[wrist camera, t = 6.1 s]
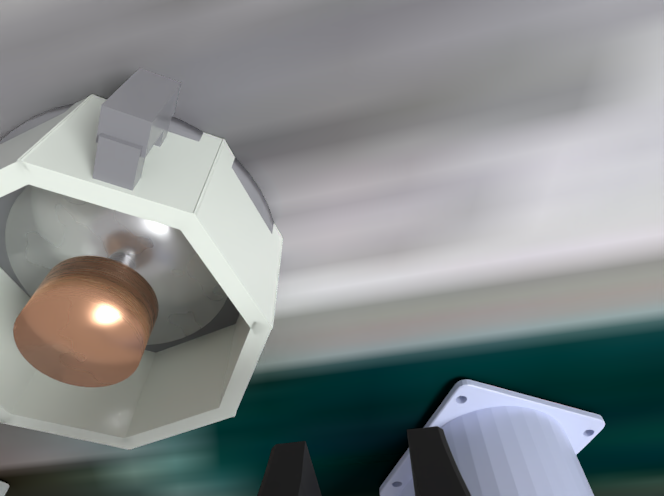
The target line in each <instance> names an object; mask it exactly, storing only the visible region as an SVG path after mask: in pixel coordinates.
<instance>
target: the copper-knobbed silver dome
mask: <svg viewBox="0 0 664 496" xmlns="http://www.w3.org/2000/svg"><path fill="white" fill-rule="evenodd" d="M5 244H6V250H7V255H8V258H9V261H10V264H11V266H12V269H13V271H14V273H15V275H16V276H17V278H18V280H19V281H20V283H21V284H22V286H23V287H24V289H25V290H26V291H27V292H28V294H29V295H30V296H31V298H30V300H29V301H28V302H27V304H26V305H25V307H24V308H23V309H22V311H21V312H20V314H19V315H18V317H17V318H16V321H15V323H14V328H13V335H14V340H15V343H16V346H17V348H18V350H19V351H20V353H21V354H22V356H23V357H24V358H25V359H26V360H27V361H28V362H29V363H30V364H31V365H32V366H33V367H34V368H36V369H37V370H38V371H40V372H41V373H43V374H45V375H47V376H48V377H50V378H53V379H55V380H57V381H60V382H63V383H66V384H70V385H74V386H80V387H105V386H110V385H113V384H117V383H119V382H121V381H123V380H125V379H127V378H128V377H129V376H131V375H132V374H133V373H134V372H135V370H136V369H137V367H138V366H139V363H140V361H141V358H142V355H143V353H144V350H145V348H146V345H151V344H161V343H166V342H171V341H175V340H178V339H181V338H184V337H186V336H188V335H191V334H193V333H195V332H196V331H198V330H200V329H201V328H203V327H204V326H205V325H207V324H208V323H209V322H210V321H211V320H212V319H213V318H214V317H215V316H216V315H217V314H218V313H219V311H220V310H221V308H222V307H223V305H224V304H225V301H226V299H227V297H228V296H227V294H226V293H225V292H224V290H223V289H222V287H221V286H220V285H219V283H218V282H217V280H216V279H215V278H214V276H213V275H212V273H211V272H210V271H209V269H208V268H207V266H206V265H205V264H204V262H203V261H202V259H201V258H200V257H199V255H198V254H197V252H196V251H195V250H194V248H193V247H192V245H191V244H190V243H189V241H188V240H187V238H186V237H185V236H184V234H183V233H182V231H181V230H179V229H176V228H173V227H169V226H166V225H162V224H159V223H156V222H152V221H149V220H146V219H142V218H139V217H136V216H132V215H129V214H126V213H122V212H119V211H116V210H112V209H109V208H106V207H102V206H99V205H96V204H92V203H89V202H86V201H82V200H79V199H76V198H72V197H69V196H66V195H62V194H59V193H56V192H52V191H49V190H46V189H42V188H39V187H36V186H32V185H28V186H27V187H26V188H25V189H24V191H23V192H22V193H21V194H20V195H19V196H18V198H17V199H16V201H15V202H14V204H13V206H12V208H11V210H10V212H9V215H8V218H7V222H6V229H5Z"/></svg>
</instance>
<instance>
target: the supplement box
mask: <svg viewBox="0 0 664 496" xmlns="http://www.w3.org/2000/svg"><path fill="white" fill-rule="evenodd" d="M8 488H9V484H7V483H5V482H2V481H0V496H4V495H5V494H6V492H7V490H8Z"/></svg>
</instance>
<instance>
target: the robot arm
mask: <svg viewBox="0 0 664 496" xmlns="http://www.w3.org/2000/svg"><path fill="white" fill-rule="evenodd" d="M459 396H461V397H459ZM604 426H605V422H604V420H603V418H602V416H600V415H598V414H595V413H591V412H587V411H584V410H580V409H576V408H573V407H569V406H565V405H562V404H558V403H554V402H551V401H547V400H543V399H540V398H536V397H532V396H528V395H525V394H521V393H517V392H514V391H510V390H506V389H503V388H499V387H495V386H492V385H488V384H484V383H481V382H477V381H473V380H469V379H464V380H460V381H458V382H457V383H456V384H455V385H454V387H453V388H452V389H451V391H450V392H449V393H448V395H447V396H446V397H445V399H444V400H443V402H442V403H441V404H440V406H439V407H438V408H437V410H436V411H435V412H434V414H433V415H432V417H431V418H430V419H429V421H428V422H427V423H426V425H425V426H424V427H423V428H417V429H408V430H407V436H408V444H409V448H408V449H407V451H406V452H405V453H404V455H403V456H402V457H401V459H400V460H399V462H398V463H397V464H396V466H395V467H394V468H393V470H392V471H391V473H390V474H389V475H388V477H387V478H386V479H385V481H384V482H383V483H382V485H381V486H380V488H379V492H380V496H594V494H593V492H592V490H591V487H590V485H589V483H588V481H587V479H586V476H585V474H584V472H583V470H582V467H581V465H580V463H579V461H578V458H577V456H576V455H577V454H578V453H579V452H580V451H581V450H582V449H583V448H584V447H585V446H586V445H587V444H588V443H589V442H590V441H591V440H592V439H593V438H594V437H595V436H596V435H597V434H598V433H599V432H600V431H601V430H602V429H603V428H604ZM257 496H322V495H321V492H320V488H319V485H318V481H317V478H316V475H315V471H314V468H313V465H312V461H311V458H310V454H309V451H308V448H307V444H306V441H302V442H293V443H284V444H276V445H275V446H274V447H273V448H272V450H271V454H270V457H269V461H268V464H267V468H266V471H265V474H264V477H263V480H262V483H261V486H260V489H259V492H258V495H257Z"/></svg>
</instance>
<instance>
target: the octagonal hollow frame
mask: <svg viewBox="0 0 664 496" xmlns="http://www.w3.org/2000/svg"><path fill="white" fill-rule="evenodd" d="M180 87H181V82H178V81H176V80H173V79H170V78H167V77H164V76H162V75H159V74H156V73H153V72H150V71H148V70H145V69H142V68H139V69H138V70H137V71H136V72H135V73H134V74H133V75H132V76H131V77H130V78H129V79H128V80H127V81H126V82H125V83H123V84H122V85H121V86H120V87H119V88H118V89H117V90H116V91H115V92H114V93H113V94H112V95H111V96H110V97H109V98H108V99H104V98H101V97H98V96H95V95H94V94H93V95H92V94H91V95H90V96H89V97H87V98H85V99H83V100H81V101H79V102H77V103H75V104H71V105H66V106H62V107H58V108H54V109H51V110H49V111H46V112H44V113H41V114H39V115H36V116H34V117H33V118H31V119H29V120H28V121H26V122H24V123H23V124H21V125H20V126H18V127H17V128H16V129H14V130H13V131H12V132H10V133H9V134H8V135H7V136H5V137H4V138H3V139H2V140H1V141H0V423H2V424H8V425H13V426H18V427H23V428H27V429H32V430H37V431H42V432H47V433H51V434H56V435H61V436H66V437H71V438H75V439H80V440H85V441H90V442H95V443H99V444H104V445H109V446H114V447H118V448H123V449H128V450H131V449H133V448H136V447H139V446H143V445H146V444H149V443H152V442H155V441H158V440H161V439H165V438H168V437H171V436H174V435H177V434H180V433H183V432H187V431H190V430H193V429H196V428H199V427H202V426H205V425H208V424H212V423H215V422H218V421H221V420H224V419H227V418H230V417H234V416H236V411H237V409H238V406H239V404H240V402H241V399H242V397H243V395H244V392H245V390H246V388H247V385H248V383H249V381H250V378H251V376H252V374H253V371H254V369H255V367H256V364H257V362H258V359H259V357H260V355H261V352H262V350H263V348H264V345H265V343H266V341H267V338H268V336H269V334H270V331H271V329H273V323H274V314H275V305H276V297H277V288H278V279H279V270H280V262H281V253H282V244H283V237H282V236H281V234H280V232H279V231H278V229H277V227H276V226H275V224H274V221H273V218H272V215H271V212H270V209H269V206H268V204H267V202H266V200H265V198H264V196H263V194H262V192H261V190H260V188H259V187H258V186H257V184H256V183H255V181H254V180H253V178H252V177H251V175H250V174H249V173H248V171H247V170H246V169H245V168H244V167H243V166H242V165H241V163H240V162H239V161H238V160H237V159H236V158H235V157H234V155H233V153H232V152H231V150H230V148H229V147H228V145H227V143H226V140H224V138H223V139H221V138H218V137H215V136H213V135H210V134H207V133H204V132H202V131H200V130H199V129H197V128H195V127H193V126H191V125H189V124H188V123H186V122H184V121H182V120H179V119H177V118H175V117H173V115H174V113H175V109H176V104H177V100H178V95H179V91H180ZM28 185H32V186H36V187H39V188H42V189H46V190H49V191H52V192H56V193H59V194H62V195H66V196H69V197H72V198H76V199H79V200H82V201H86V202H89V203H92V204H96V205H99V206H102V207H106V208H109V209H112V210H116V211H119V212H122V213H126V214H129V215H132V216H136V217H139V218H142V219H146V220H149V221H152V222H156V223H159V224H162V225H166V226H169V227H173V228H176V229H179V230H181V231H182V233H183V234H184V236H185V237H186V238H187V240H188V241H189V243H190V244H191V245H192V247H193V248H194V250H195V251H196V252H197V254H198V255H199V257H200V258H201V259H202V261H203V262H204V264H205V265H206V266H207V268H208V269H209V271H210V272H211V273H212V275H213V276H214V278H215V279H216V280H217V282H218V283H219V285H220V286H221V287H222V289H223V290H224V292H225V293H226V294H227V296H228V297H227V299H226V301H225V304H224V305H223V307H222V308H221V310H220V311H219V313H218V314H217V315H216V316H215V317H214V318H213V319H212V320H211V321H210V322H209V323H208V324H207V325H205V326H204V327H203V328H201V329H200V330H198V331H196V332H195V333H193V334H191V335H188V336H186V337H184V338H181V339H178V340H175V341H171V342H166V343H161V344H151V345H146V348H145V350H144V353H143V355H142V358H141V361H140V363H139V366H138V367H137V369H136V370H135V372H134V373H133V374H132V375H131V376H129V377H128V378H127V379H125V380H123V381H121V382H119V383H117V384H113V385H110V386H105V387H80V386H74V385H70V384H66V383H63V382H60V381H57V380H55V379H53V378H50V377H48V376H47V375H45V374H43V373H41V372H40V371H38V370H37V369H36V368H34V367H33V366H32V365H31V364H30V363H29V362H28V361H27V360H26V359H25V358H24V357H23V356H22V354H21V353H20V351H19V350H18V348H17V346H16V343H15V340H14V335H13V328H14V323H15V321H16V318H17V317H18V315H19V314H20V312H21V311H22V309H23V308H24V307H25V305H26V304H27V302H28V301H29V300H30V298H31V296H30V295H29V294H28V292H27V291H26V290H25V289H24V287H23V286H22V284H21V283H20V281H19V280H18V278H17V276H16V275H15V273H14V271H13V269H12V266H11V264H10V261H9V258H8V255H7V250H6V244H5V229H6V222H7V218H8V215H9V212H10V210H11V208H12V206H13V204H14V202H15V201H16V199H17V198H18V196H19V195H20V194H21V193H22V192H23V191H24V189H25V188H26V187H27V186H28Z"/></svg>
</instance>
